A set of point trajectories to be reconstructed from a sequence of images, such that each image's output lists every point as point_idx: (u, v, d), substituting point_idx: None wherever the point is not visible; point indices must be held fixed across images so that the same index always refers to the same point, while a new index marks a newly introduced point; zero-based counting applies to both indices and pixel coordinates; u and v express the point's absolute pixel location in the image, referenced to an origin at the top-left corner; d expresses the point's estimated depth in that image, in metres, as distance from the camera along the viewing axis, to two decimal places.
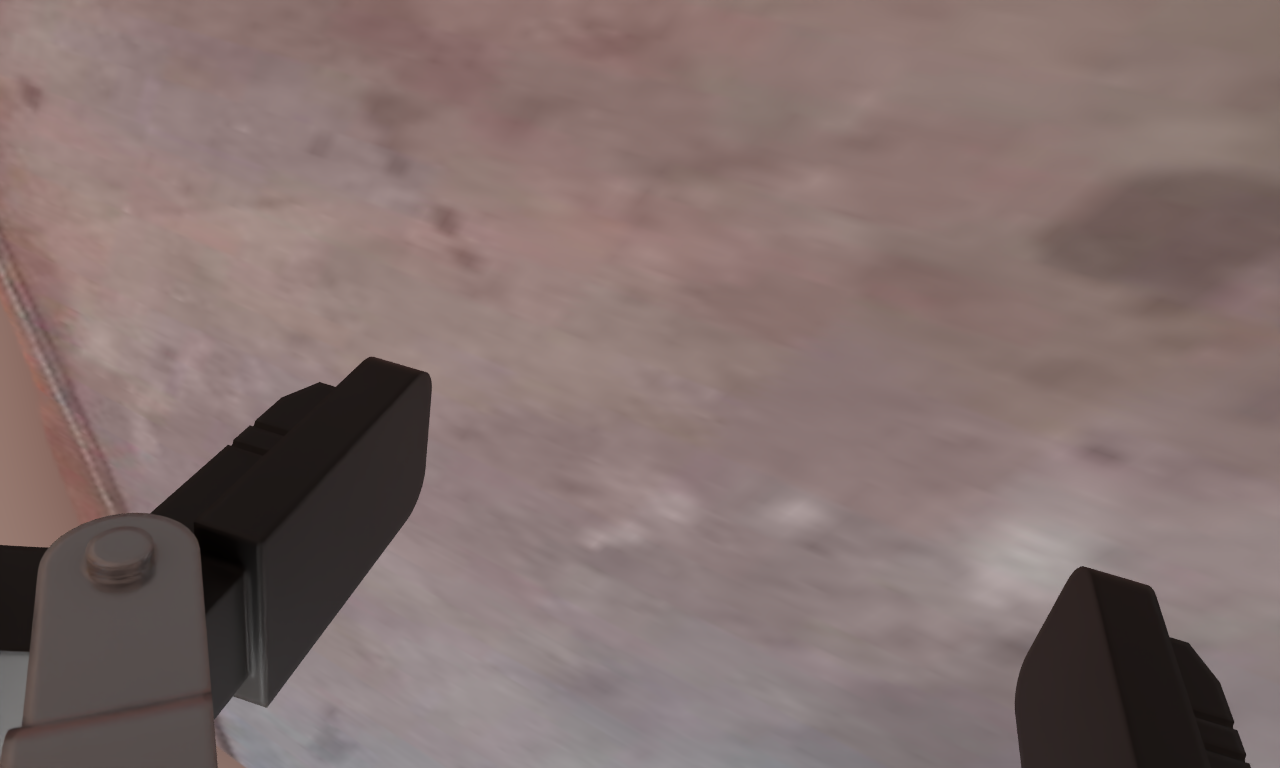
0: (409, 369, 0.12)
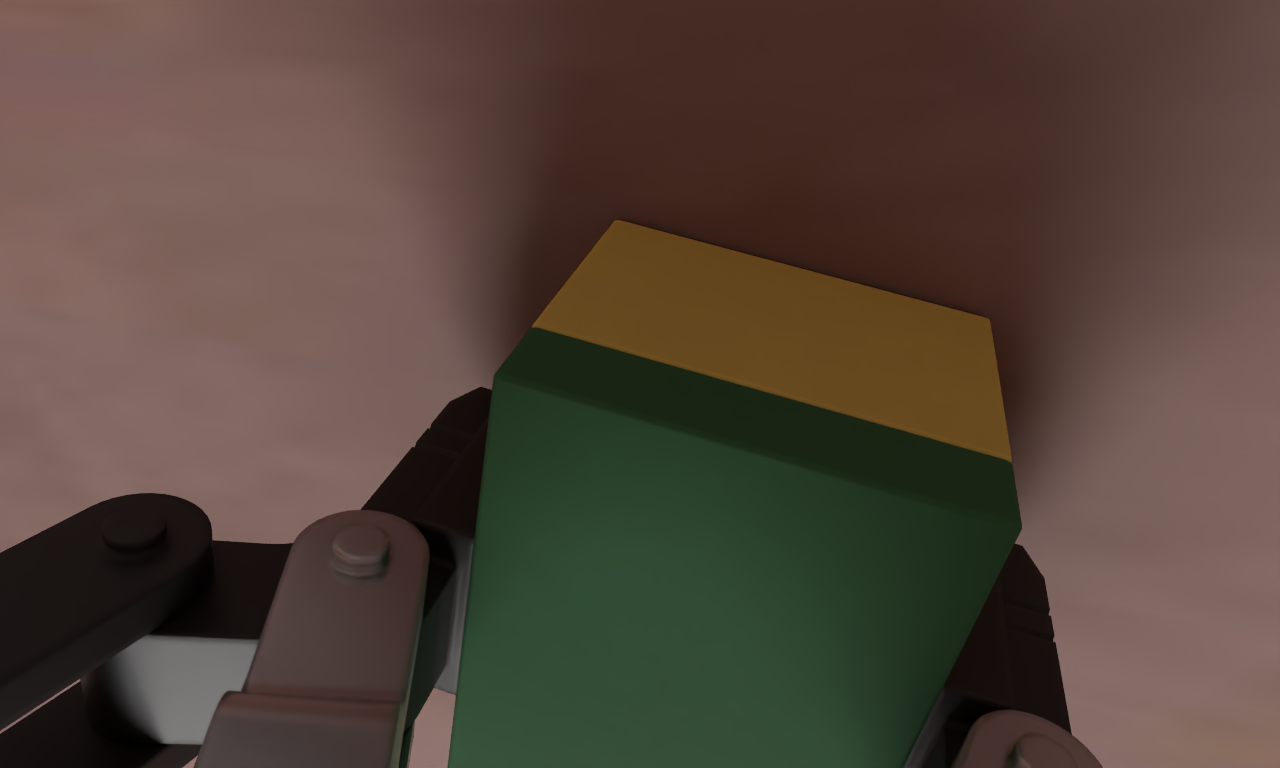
0: None
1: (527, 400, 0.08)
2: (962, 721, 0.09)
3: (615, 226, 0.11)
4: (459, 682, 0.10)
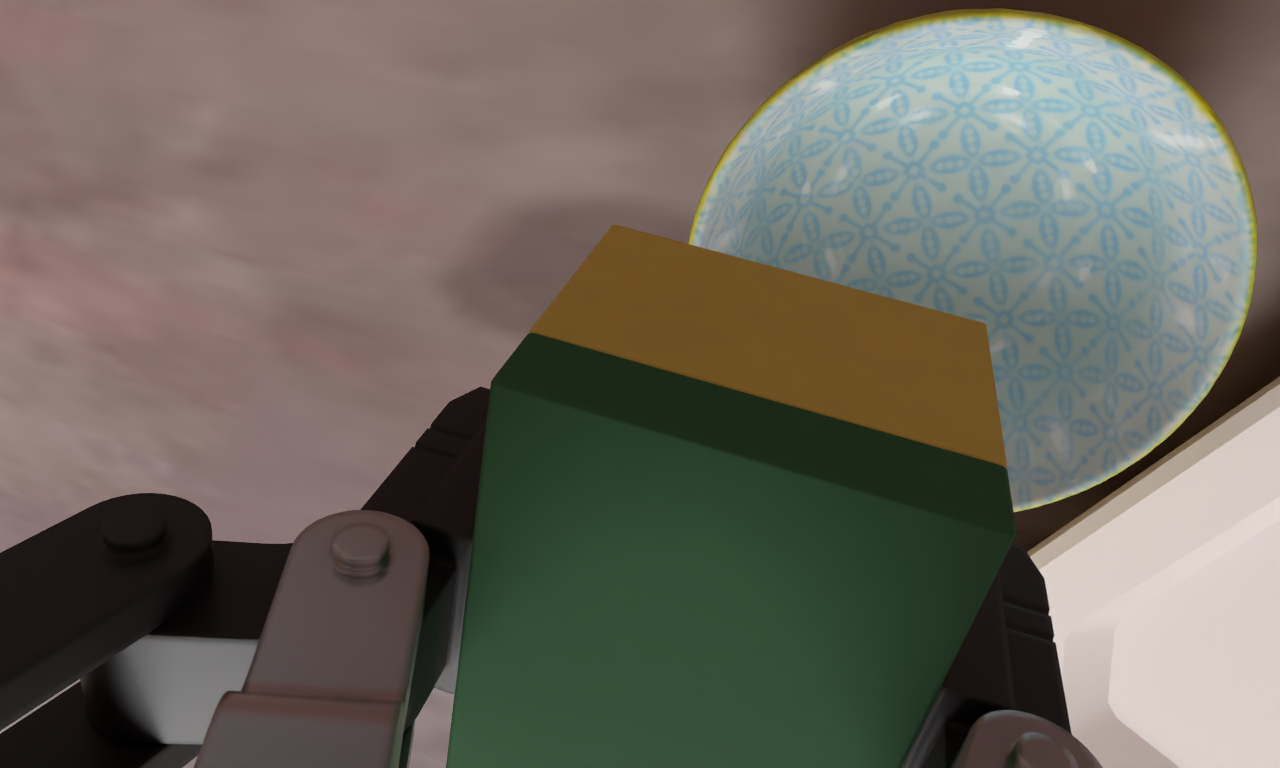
0: None
1: (524, 406, 0.08)
2: (962, 721, 0.09)
3: (613, 231, 0.11)
4: (457, 685, 0.10)
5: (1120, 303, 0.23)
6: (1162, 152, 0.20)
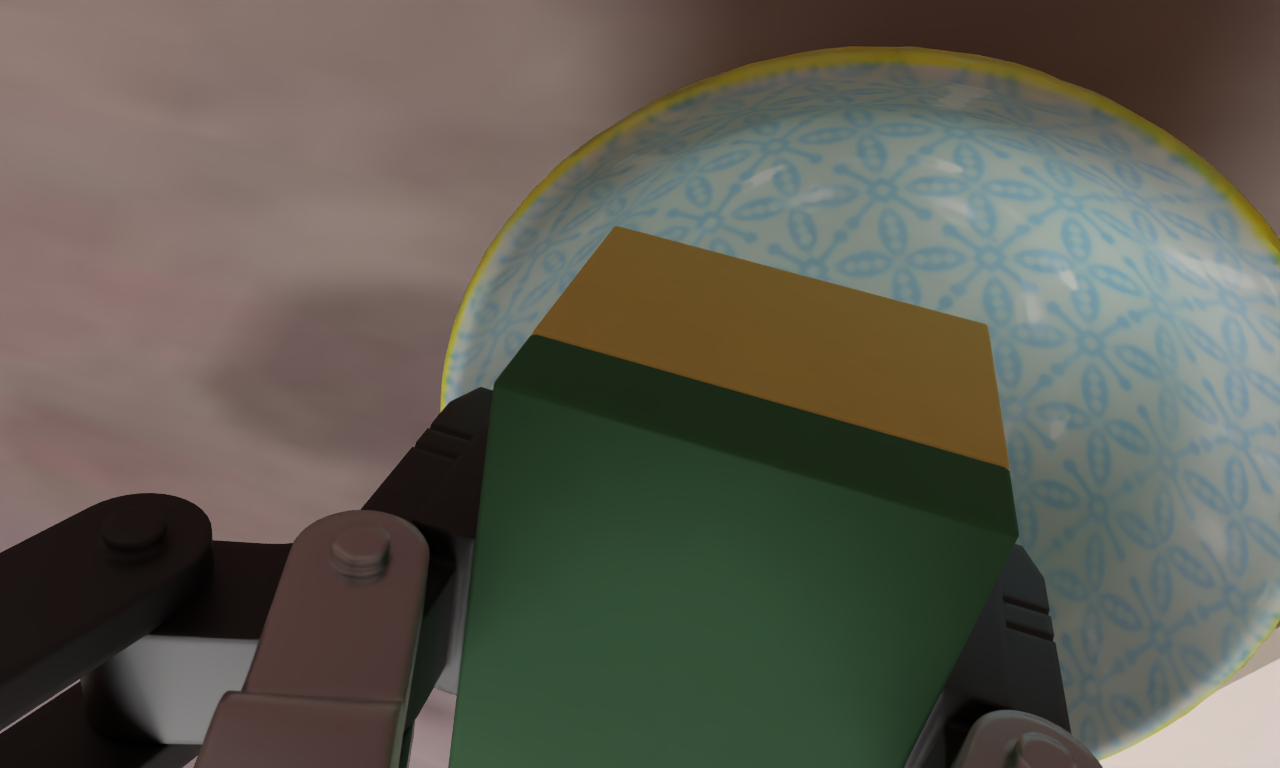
0: None
1: (527, 408, 0.08)
2: (962, 721, 0.09)
3: (615, 232, 0.11)
4: (459, 687, 0.10)
5: (1109, 482, 0.15)
6: (1180, 279, 0.13)
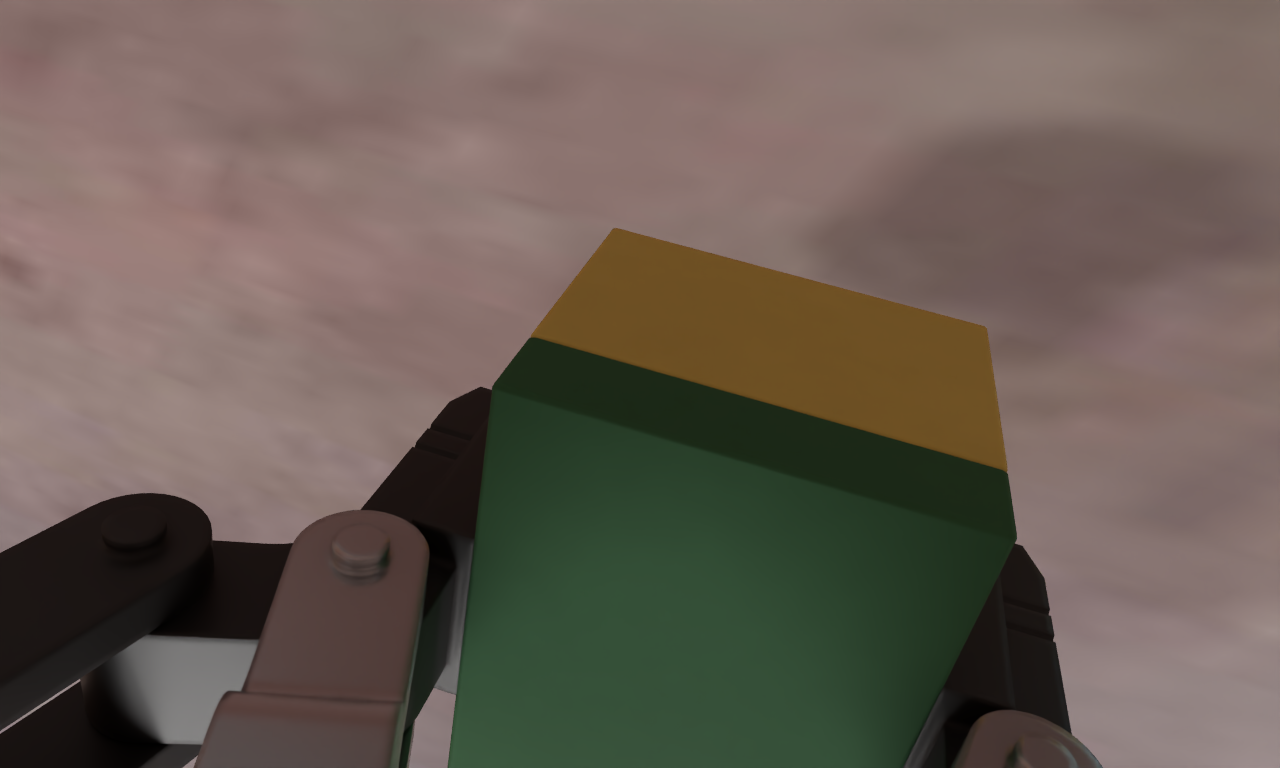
0: None
1: (525, 410, 0.08)
2: (962, 721, 0.09)
3: (614, 234, 0.11)
4: (458, 689, 0.10)
5: None
6: None
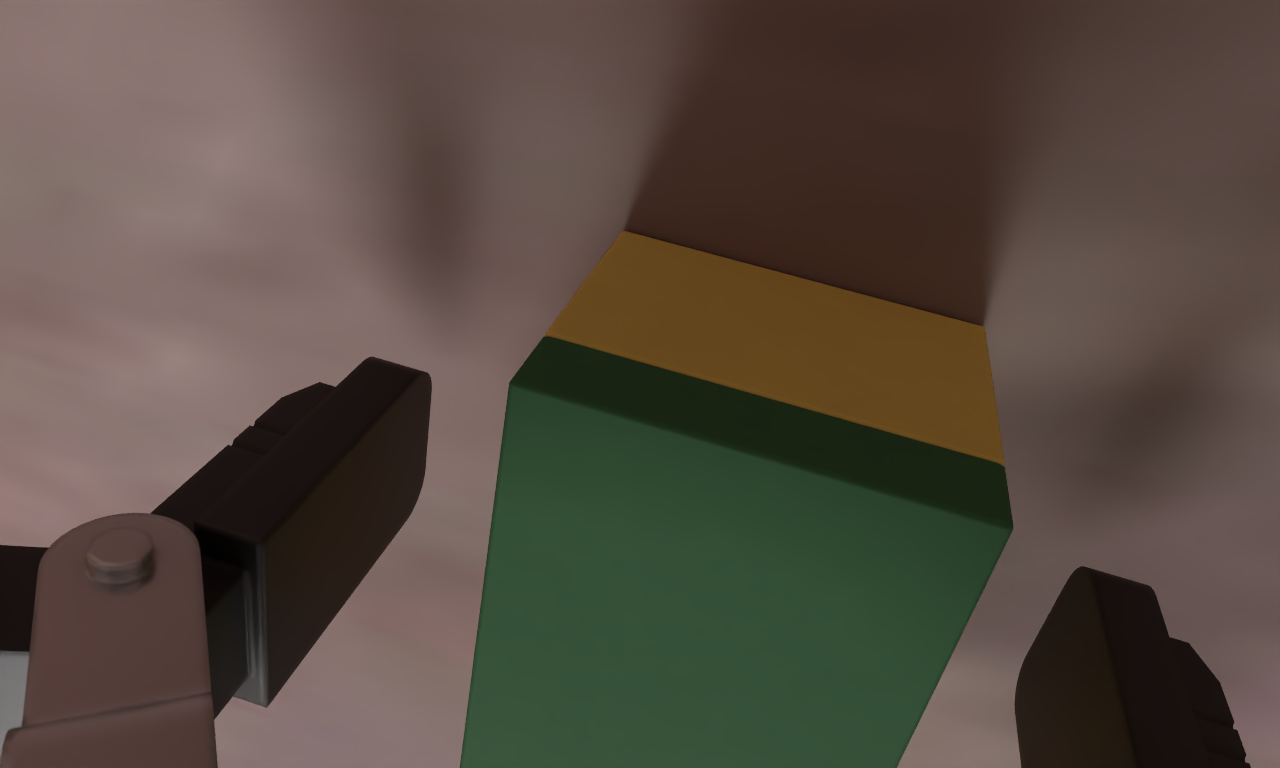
0: (409, 369, 0.12)
1: (541, 406, 0.09)
2: None
3: (623, 237, 0.12)
4: (473, 677, 0.11)
5: None
6: None
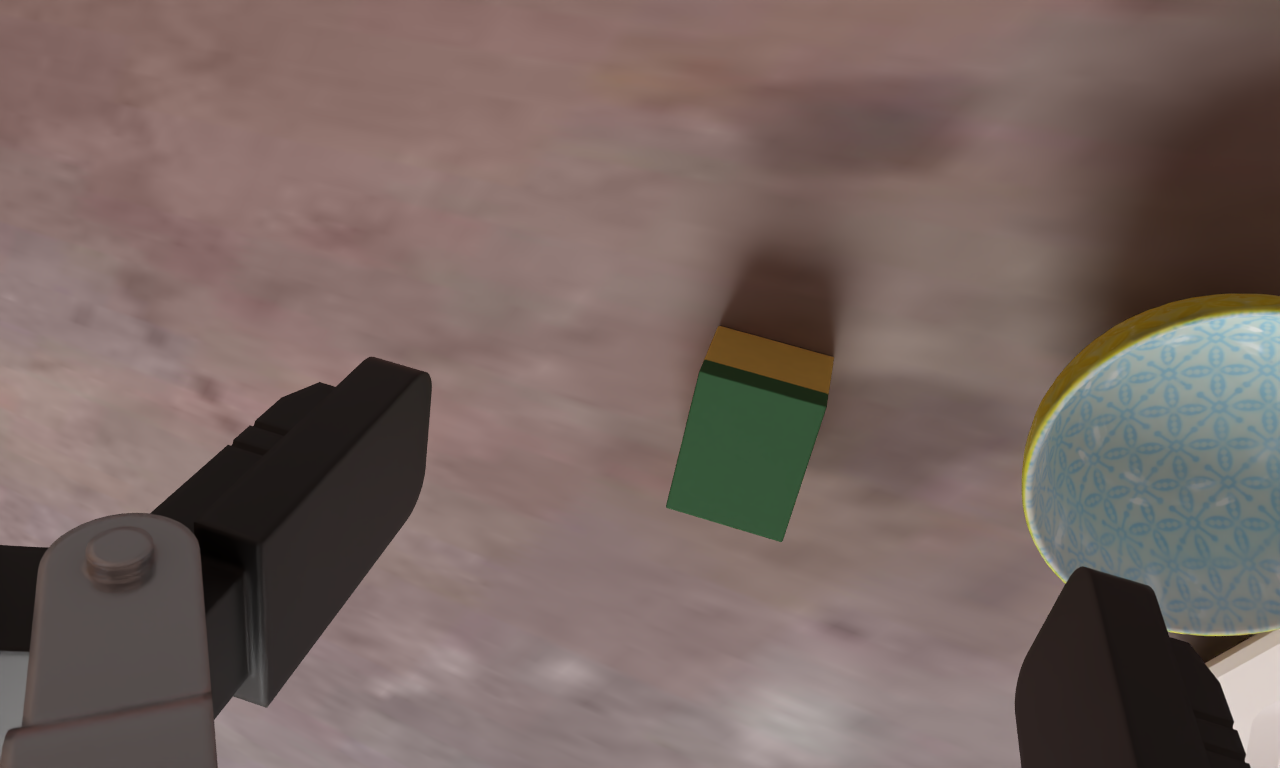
0: (409, 369, 0.12)
1: (707, 377, 0.34)
2: None
3: (719, 328, 0.37)
4: (678, 461, 0.36)
5: None
6: None
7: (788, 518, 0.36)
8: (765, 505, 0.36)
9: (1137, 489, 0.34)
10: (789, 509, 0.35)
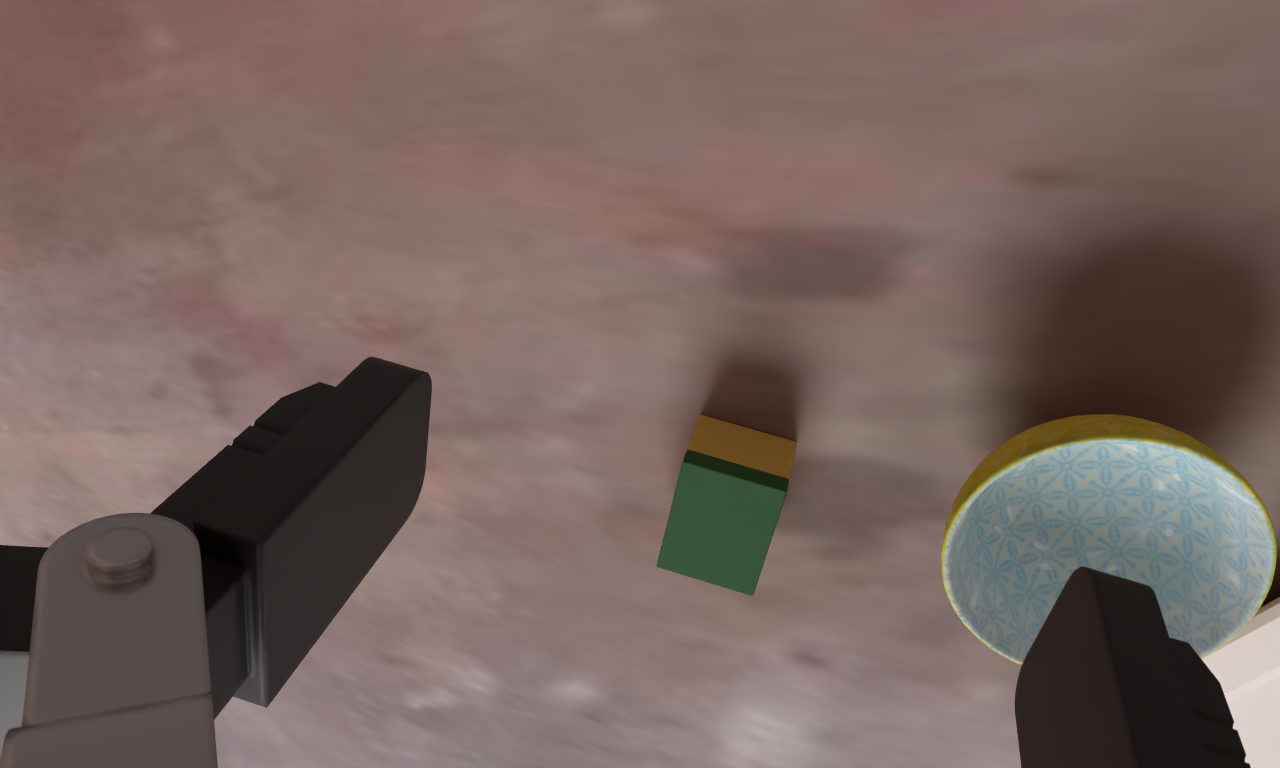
0: (409, 369, 0.12)
1: (689, 466, 0.41)
2: None
3: (701, 417, 0.44)
4: (666, 530, 0.43)
5: (1192, 555, 0.39)
6: (1223, 490, 0.36)
7: (757, 577, 0.43)
8: (738, 567, 0.43)
9: (1044, 556, 0.42)
10: (758, 570, 0.43)
